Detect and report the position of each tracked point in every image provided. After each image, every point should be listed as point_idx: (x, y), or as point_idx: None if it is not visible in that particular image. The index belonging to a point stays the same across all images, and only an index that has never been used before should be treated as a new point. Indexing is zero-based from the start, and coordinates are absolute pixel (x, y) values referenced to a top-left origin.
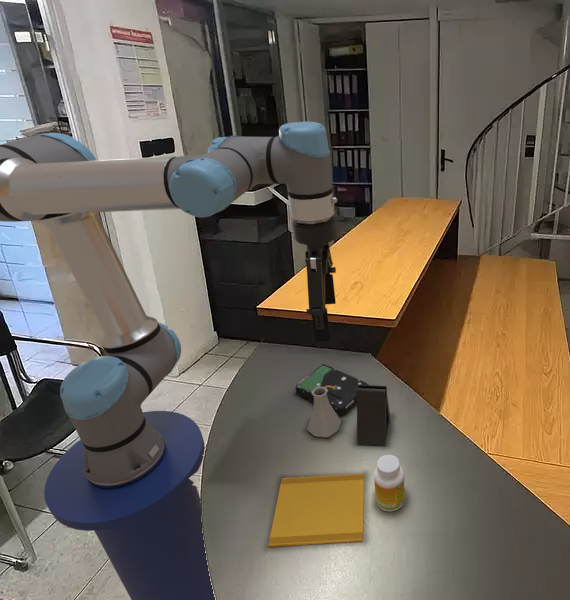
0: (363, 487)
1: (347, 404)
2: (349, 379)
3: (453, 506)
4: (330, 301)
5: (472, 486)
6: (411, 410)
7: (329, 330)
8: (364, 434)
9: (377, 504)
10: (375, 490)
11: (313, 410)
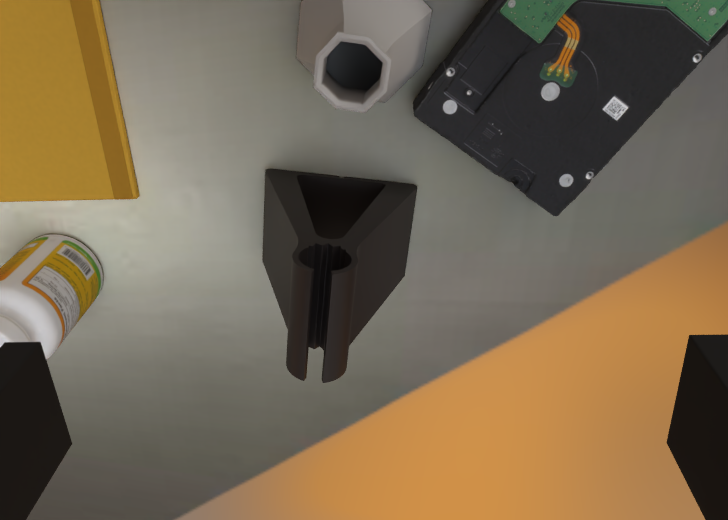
0: (84, 199)
1: (442, 135)
2: (604, 134)
3: (73, 408)
4: (686, 427)
5: (140, 453)
6: (429, 336)
7: (30, 509)
8: (270, 209)
9: (33, 239)
10: (14, 260)
11: (339, 14)
